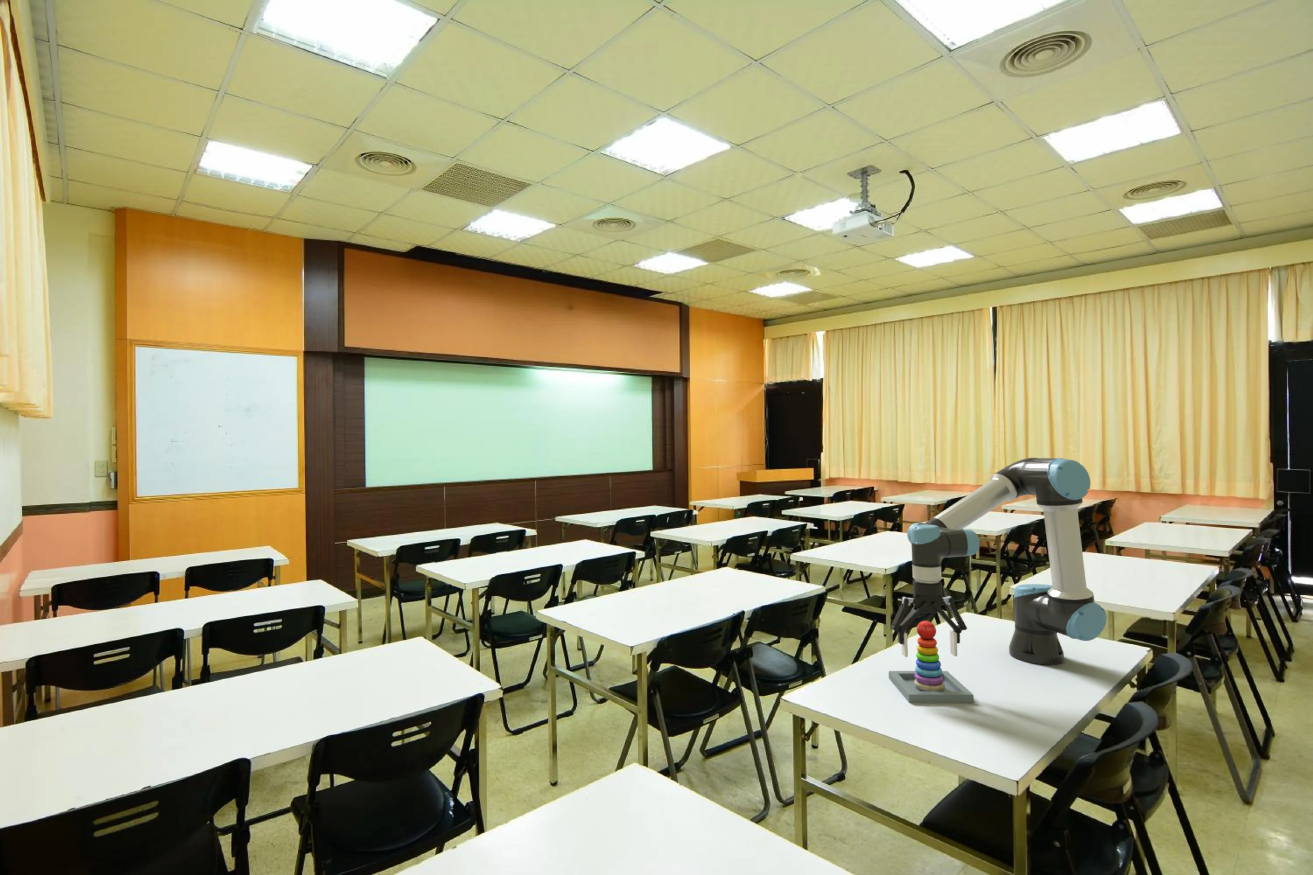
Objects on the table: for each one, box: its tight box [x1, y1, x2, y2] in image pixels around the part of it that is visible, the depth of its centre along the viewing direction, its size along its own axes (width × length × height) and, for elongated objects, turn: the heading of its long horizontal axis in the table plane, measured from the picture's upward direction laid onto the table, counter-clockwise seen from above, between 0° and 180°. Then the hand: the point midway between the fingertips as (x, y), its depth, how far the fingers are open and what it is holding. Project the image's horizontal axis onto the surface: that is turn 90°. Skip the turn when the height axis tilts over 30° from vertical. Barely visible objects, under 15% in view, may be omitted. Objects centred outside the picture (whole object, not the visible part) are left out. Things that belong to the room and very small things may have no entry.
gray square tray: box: [888, 670, 975, 704], centre depth 175 cm, size 17×17×2 cm
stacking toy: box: [914, 620, 945, 692], centre depth 175 cm, size 8×8×19 cm
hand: (929, 655), depth 175 cm, fingers open, 13 cm apart
